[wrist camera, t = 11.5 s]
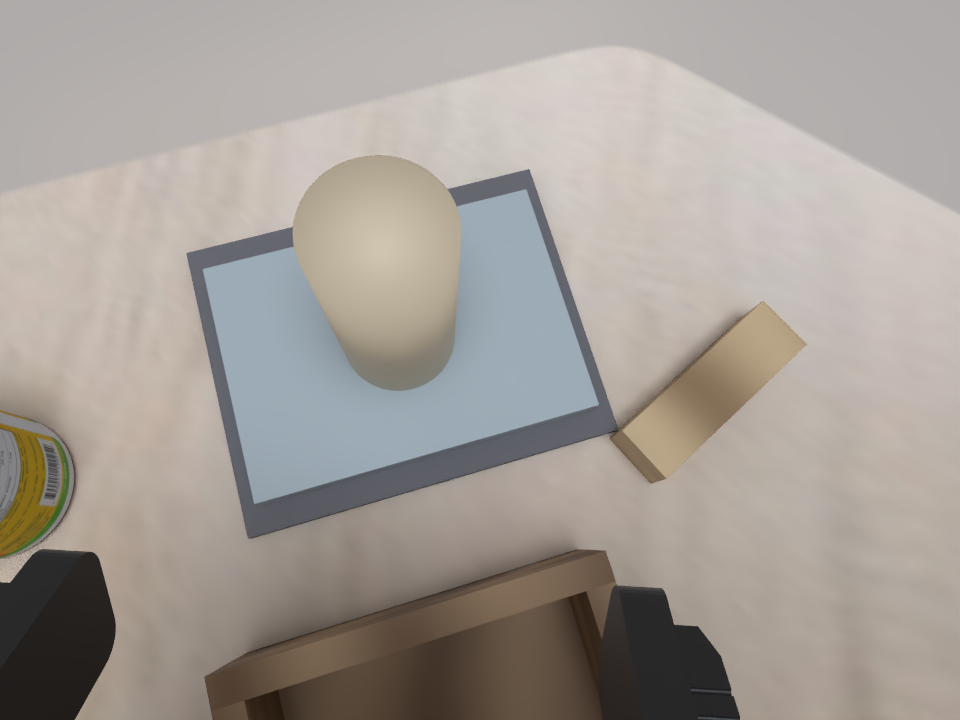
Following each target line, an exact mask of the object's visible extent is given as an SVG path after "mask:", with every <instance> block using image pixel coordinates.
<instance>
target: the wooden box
mask: <svg viewBox="0 0 960 720" xmlns="http://www.w3.org/2000/svg"><path fill="white" fill-rule="evenodd" d="M614 586H617V584H616V581H615V578H614V575H613V572H612V569H611V566H610V563H609V560H608V557H607V554H606V551H599V550H575V551H571V552H568V553H565V554H562V555H559V556H555V557H552V558H549V559H546V560H543V561H539V562H536V563H533V564H530V565H527V566H523V567H520V568H517V569H514V570H511V571H507V572H504V573H501V574H498V575H495V576H491V577H488V578H485V579H482V580H479V581H475V582H472V583H469V584H466V585H463V586H459V587H456V588H453V589H450V590H447V591H443V592H440V593H437V594H434V595H431V596H427V597H424V598H421V599H418V600H415V601H412V602H408V603H405V604H402V605H399V606H396V607H392V608H389V609H386V610H383V611H380V612H376V613H373V614H370V615H367V616H364V617H360V618H357V619H354V620H351V621H348V622H344V623H341V624H338V625H335V626H332V627H328V628H325V629H322V630H319V631H316V632H312V633H309V634H306V635H303V636H300V637H296V638H293V639H290V640H287V641H284V642H280V643H277V644H274V645H271V646H268V647H264V648H261V649H258V650H255V651H252V652H249V653H246V654H244V655H243V656H241V657H239V658H237V659H236V660H234V661H232V662H230V663H228V664H227V665H225V666H223V667H221V668H220V669H218V670H216V671H214V672H212V673H211V674H209V675H207V676H205V682H206V687H207V692H208V697H209V703H210V708H211V713H212V718H213V720H603V718H602V711H601V703H600V696H599V685H598V661H599V652H600V646H601V641H602V636H603V631H604V626H605V621H606V616H607V611H608V606H609V601H610V596H611V592H612V589H613V587H614Z"/></svg>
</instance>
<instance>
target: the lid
mask: <svg viewBox="0 0 960 720" xmlns="http://www.w3.org/2000/svg"><path fill="white" fill-rule="evenodd" d="M293 244H294V247H290V248H286V249H282V250H278V251H274V252H270V253H266V254H262V255H258V256H254V257H250V258H246V259H242V260H238V261H234V262H230V263H225V264H221V265H217V266H213V267H209V268H205V269H203V273H204V277H205V282H206V286H207V291H208V296H209V300H210V305H211V309H212V314H213V318H214V323H215V327H216V332H217V337H218V341H219V346H220V350H221V355H222V359H223V364H224V369H225V373H226V378H227V382H228V387H229V391H230V396H231V401H232V405H233V410H234V414H235V419H236V423H237V428H238V432H239V437H240V442H241V446H242V451H243V455H244V460H245V464H246V469H247V474H248V478H249V483H250V487H251V492H252V496H253V501H254V504H256V505H264V504H267V503H271V502H274V501H278V500H281V499H285V498H288V497H292V496H295V495H299V494H302V493H306V492H309V491H313V490H316V489H320V488H323V487H326V486H330V485H333V484H337V483H340V482H344V481H347V480H351V479H354V478H358V477H361V476H365V475H368V474H372V473H375V472H379V471H382V470H386V469H389V468H392V467H396V466H399V465H403V464H406V463H410V462H413V461H417V460H420V459H424V458H427V457H431V456H434V455H438V454H441V453H445V452H448V451H451V450H455V449H458V448H462V447H465V446H469V445H472V444H476V443H479V442H483V441H486V440H490V439H493V438H497V437H500V436H504V435H507V434H510V433H514V432H517V431H521V430H524V429H528V428H531V427H535V426H538V425H542V424H545V423H549V422H552V421H556V420H559V419H563V418H566V417H570V416H573V415H576V414H580V413H583V412H587V411H590V410H594V409H595V408H596V407H597V406H598V405H599V403H598V400H597V397H596V394H595V391H594V388H593V385H592V382H591V379H590V376H589V373H588V371H587V368H586V365H585V362H584V359H583V356H582V353H581V350H580V347H579V344H578V341H577V338H576V335H575V332H574V329H573V326H572V323H571V320H570V317H569V314H568V311H567V308H566V305H565V302H564V299H563V296H562V293H561V290H560V287H559V285H558V282H557V279H556V276H555V273H554V270H553V267H552V264H551V261H550V258H549V255H548V252H547V249H546V246H545V243H544V240H543V237H542V234H541V231H540V228H539V225H538V222H537V219H536V216H535V213H534V210H533V207H532V204H531V201H530V199H529V196H528V193H527V190H526V189H525V190H521V191H517V192H513V193H509V194H505V195H501V196H497V197H493V198H489V199H485V200H480V201H476V202H472V203H468V204H464V205H460V206H456V204H455V201H454V199H453V198H452V196H451V194H450V192H449V191H448V190H447V188H446V187H445V186H444V184H443V183H442V182H441V181H440V180H439V179H438V178H437V177H436V176H434V175H433V174H432V173H431V172H429V171H428V170H426V169H425V168H423V167H421V166H420V165H418V164H415V163H413V162H411V161H408V160H405V159H402V158H398V157H392V156H382V155H375V156H364V157H358V158H354V159H351V160H348V161H345V162H343V163H341V164H338V165H336V166H334V167H333V168H331V169H329V170H328V171H326V172H325V173H324V174H322V175H321V176H320V177H319V178H318V179H317V180H316V181H315V182H314V183H313V184H312V185H311V186H310V187H309V189H308V190H307V191H306V192H305V194H304V196H303V198H302V199H301V201H300V203H299V206H298V208H297V211H296V214H295V218H294V223H293Z"/></svg>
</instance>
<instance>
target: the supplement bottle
mask: <svg viewBox="0 0 960 720" xmlns="http://www.w3.org/2000/svg"><path fill="white" fill-rule="evenodd" d="M73 486H74V469H73V464H72V460H71V457H70V454H69V452H68V450H67V448H66V446H65V445H64V443H63V442H62V441H61V439H60V438H59V437H58V436H57V435H56V434H55V433H54V432H52V431H51V430H50V429H48V428H47V427H45V426H44V425H42V424H40V423H37V422H35V421H32V420H30V419H27V418H24V417H21V416H17V415H14V414H10V413H7V412H3V411H0V559H1V558H6V557H10V556H13V555H16V554H19V553H21V552H23V551H25V550H27V549H29V548H31V547H33V546H34V545H36V544H37V543H39V542H40V541H41V540H43V539H44V538H45V537H46V536H47V535H48V534H49V533H50V532H51V531H52V530H53V529H54V528H55V527H56V526H57V524H58V523H59V522H60V520H61V519H62V517H63V516H64V514H65V512H66V510H67V508H68V505H69V502H70V499H71V496H72V492H73Z"/></svg>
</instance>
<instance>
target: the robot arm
mask: <svg viewBox="0 0 960 720" xmlns="http://www.w3.org/2000/svg"><path fill="white" fill-rule="evenodd" d="M115 632H116V624H115V617H114V613H113V610H112V606H111V602H110V598H109V594H108V591H107V587H106V583H105V579H104V575H103V572H102V568H101V564H100V561H99V558H98V556H97V555H96V554H95V553H93V552H82V551H66V550H49V549H42V550H39V551H37V552H36V553H34V554H33V555H32V556H31V557H30V559H29V560H28V561H27V562H26V563H25V565H24V566H23V567H22V569H21V570H20V571H19V572H18V574H17V575H16V576H15V577H14V579H13V580H12V581H11V582H10V583H2V582H0V720H75V718H76V716H77V715H78V713H79V711H80V709H81V708H82V706H83V704H84V702H85V700H86V699H87V697H88V695H89V693H90V692H91V690H92V688H93V686H94V684H95V683H96V681H97V679H98V677H99V676H100V674H101V672H102V670H103V668H104V667H105V665H106V663H107V661H108V659H109V657H110V654H111V651H112V648H113V644H114V639H115ZM598 685H599V696H600V703H601V711H602V718H603V720H740V715H739V712H738V709H737V706H736V703H735V699H734V696H732V695H731V687H730V684H729V680H728V677H727V674H726V671H725V668H724V665H723V662H722V658H721V656H720V654H719V653H718V652H717V651H716V649H715V648H714V647H713V645H712V644H711V643H710V641H709V640H708V639H707V638H706V636H705V635H704V634H703V632H702V631H701V630H700V628H699V627H698V626H682V625H674V623H673V619H672V615H671V612H670V608H669V604H668V600H667V597H666V594H665V592H664V590H663V589H662V588H647V587H631V586H614V587H613V589H612V592H611V596H610V601H609V606H608V611H607V616H606V621H605V626H604V631H603V636H602V641H601V646H600V652H599V661H598Z"/></svg>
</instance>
